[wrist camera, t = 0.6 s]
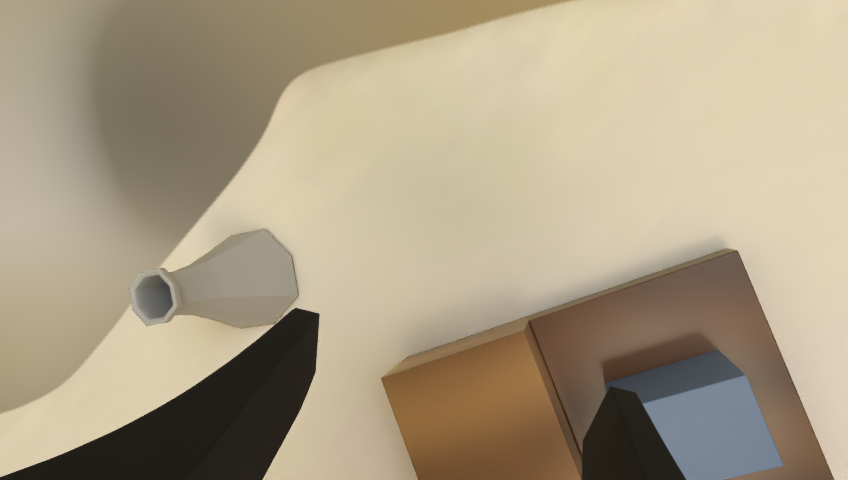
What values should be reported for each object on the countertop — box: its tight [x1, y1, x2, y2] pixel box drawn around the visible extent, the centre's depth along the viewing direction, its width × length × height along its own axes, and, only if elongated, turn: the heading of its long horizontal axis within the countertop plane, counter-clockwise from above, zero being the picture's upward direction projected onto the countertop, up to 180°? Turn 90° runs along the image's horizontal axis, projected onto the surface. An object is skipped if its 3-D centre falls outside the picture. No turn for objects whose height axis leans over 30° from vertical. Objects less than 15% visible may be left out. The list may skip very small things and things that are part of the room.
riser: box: [381, 249, 834, 480], centre depth 31 cm, size 14×21×5 cm, turn 111°
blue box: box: [605, 350, 783, 480], centre depth 28 cm, size 4×6×5 cm
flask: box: [129, 229, 298, 328], centre depth 35 cm, size 7×7×10 cm
